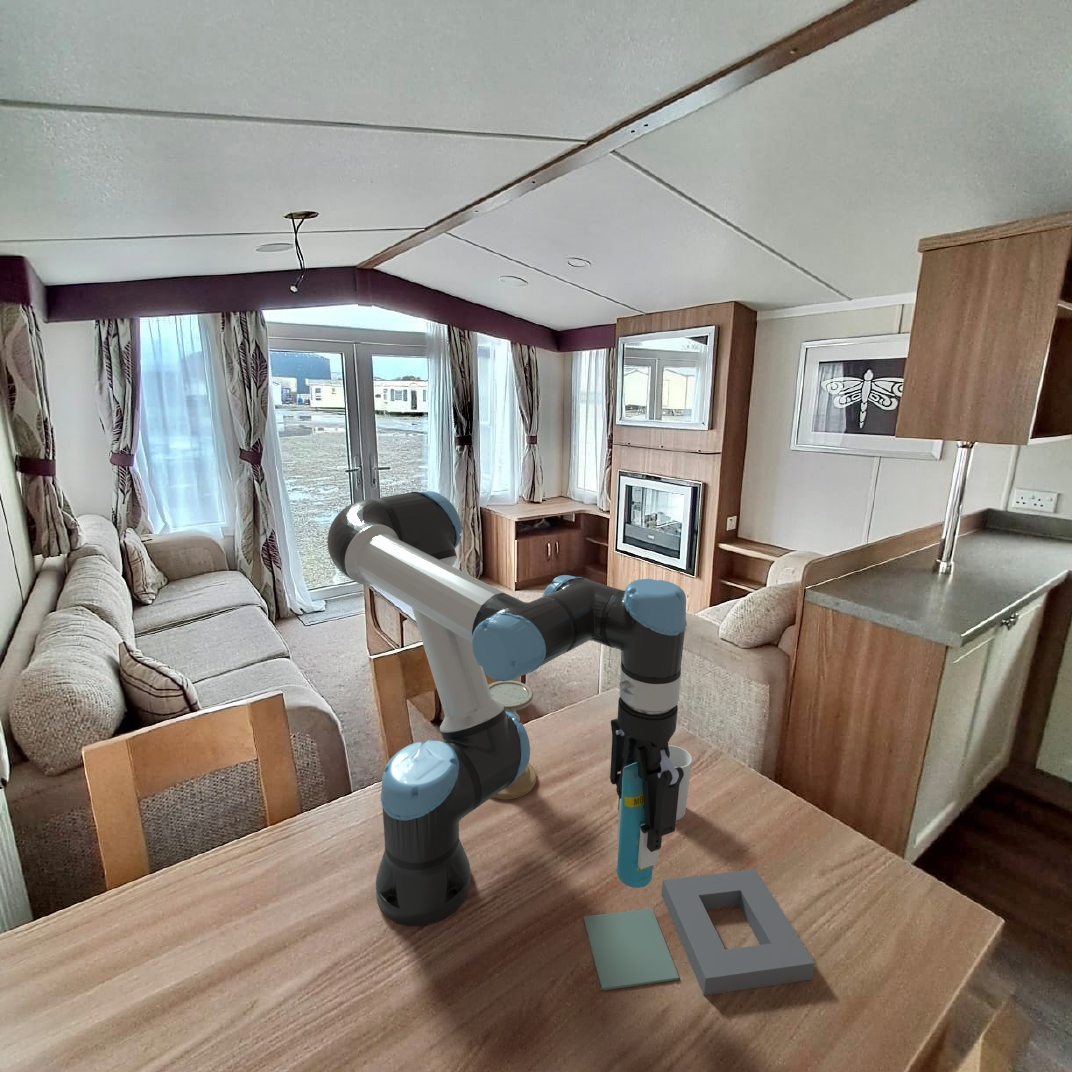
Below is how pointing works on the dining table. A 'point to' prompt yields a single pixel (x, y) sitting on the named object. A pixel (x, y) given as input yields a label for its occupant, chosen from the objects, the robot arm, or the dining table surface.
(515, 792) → the candle holder
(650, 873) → the tube
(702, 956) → the socket board
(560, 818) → the dining table surface
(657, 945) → the coaster
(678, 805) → the mug
